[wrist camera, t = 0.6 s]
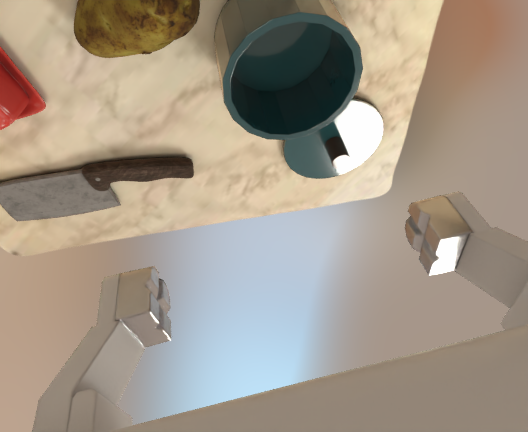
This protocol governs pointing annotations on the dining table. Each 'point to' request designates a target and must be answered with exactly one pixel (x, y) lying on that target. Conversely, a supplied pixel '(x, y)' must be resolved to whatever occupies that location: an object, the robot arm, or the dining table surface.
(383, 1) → the dining table surface
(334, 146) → the lid
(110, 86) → the dining table surface
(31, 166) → the dining table surface
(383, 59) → the dining table surface
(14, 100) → the butter dish
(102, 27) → the potato
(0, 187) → the cleaver
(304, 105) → the pot
